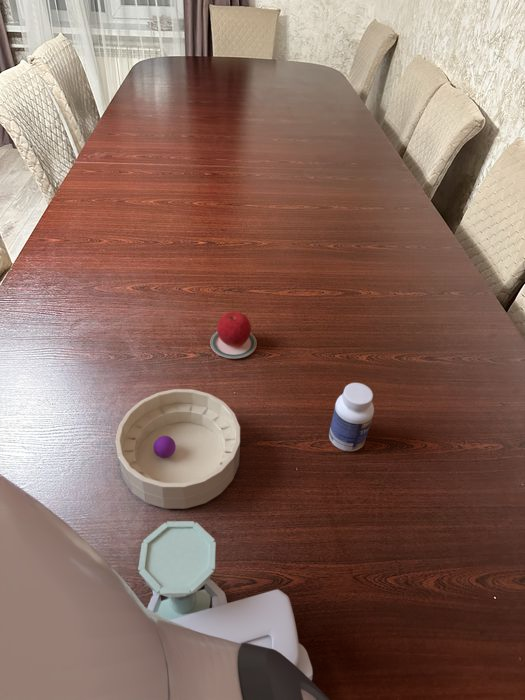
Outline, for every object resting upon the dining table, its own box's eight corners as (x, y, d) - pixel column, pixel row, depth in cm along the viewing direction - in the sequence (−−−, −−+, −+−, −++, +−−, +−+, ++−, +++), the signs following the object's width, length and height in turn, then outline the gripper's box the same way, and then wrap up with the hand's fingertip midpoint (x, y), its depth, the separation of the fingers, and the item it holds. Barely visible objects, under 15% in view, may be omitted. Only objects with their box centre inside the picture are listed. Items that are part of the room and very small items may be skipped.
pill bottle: (360, 457, 75) (374, 413, 68) (324, 445, 76) (334, 400, 69) (368, 430, 78) (381, 385, 72) (333, 419, 80) (344, 374, 73)
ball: (152, 444, 73) (147, 454, 70) (162, 428, 72) (158, 437, 70) (170, 455, 74) (166, 465, 71) (181, 439, 73) (177, 449, 70)
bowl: (111, 510, 66) (104, 486, 62) (131, 413, 78) (126, 387, 74) (238, 511, 67) (239, 487, 63) (239, 414, 79) (240, 390, 75)
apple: (202, 352, 89) (201, 322, 84) (222, 325, 94) (222, 296, 90) (245, 366, 87) (247, 336, 83) (263, 337, 93) (265, 308, 88)
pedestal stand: (146, 638, 55) (134, 594, 47) (154, 570, 60) (144, 521, 53) (215, 637, 55) (214, 592, 48) (217, 570, 60) (216, 520, 53)
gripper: (324, 680, 45) (276, 535, 55) (78, 762, 40) (72, 587, 50) (315, 700, 49) (272, 563, 59) (92, 777, 44) (84, 613, 54)
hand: (179, 574), depth 54 cm, fingers closed on pedestal stand, 3 cm apart
